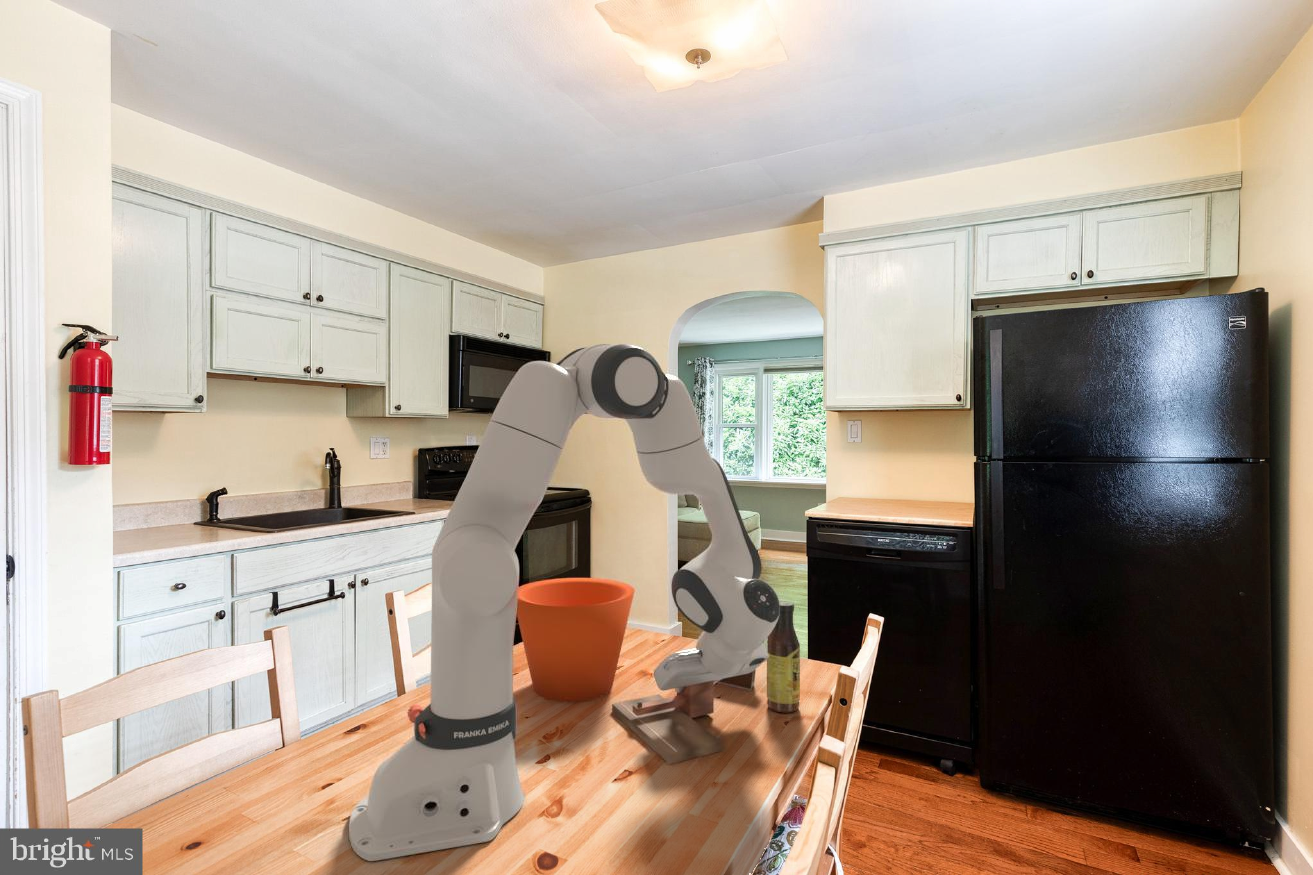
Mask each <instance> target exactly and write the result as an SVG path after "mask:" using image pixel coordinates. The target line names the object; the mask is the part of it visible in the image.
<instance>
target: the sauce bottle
mask: <svg viewBox="0 0 1313 875" xmlns="http://www.w3.org/2000/svg"><path fill="white" fill-rule="evenodd" d="M779 603H780V614H779V618H778V621H777V623H776V625H775V627H774V629H773V630H772V632H771V633H770V635H769V636H768V637H767V639H766V641H767V647H766V649H767V652H768V655H769V658H768V659H767V660H766V698H767V702H766V704H767V705H766V706H767V707H768V708H769V709H771V710H772V711H774V712H778V713H785V714H786V713H787V714H789V713H792V712H793V713H794V712H795V711H798V709H799V707H800V700H801V696H800V695H801V689H800V688H801V683H800V682H801V648H800V646H801V645H800V641H799V639H798V636H797V633H796V630H795V627H794V626H795V624H794V611H795V604H794V603H793V602H791V601H785V600H779Z"/></svg>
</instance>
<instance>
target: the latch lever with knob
mask: <svg viewBox="0 0 1313 875" xmlns="http://www.w3.org/2000/svg"><path fill="white" fill-rule="evenodd" d="M686 687H687V688H686V690H685V691H684V692H679V693H676V695H675V696H671V697H667V698H666V697H664V698H665V699H660V700H655V701H650V702H646V703H642V702H641V701H639V702H638V704H636V705H633V713H634V714H635V715H637V716H639V715H643V714H648V713H652V712H657V711H661V710H666V709H670V708H675V707H677V708H678V709H680V710H681V711H682V712H684V713H685V714H686V715H688V716H689V717H690V718H692V719H693V718H698V717H700V716H701V717H702V716H705V715H711V714H713V713H715V712H714V711H715V710H714V709H715V708H714V707H715V706H714V702H715V701H714V697H715V694H714V690H715V689H714V688H715V684H714V681H709V682H704V683H699V684H694V685H689V686H686Z"/></svg>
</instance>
